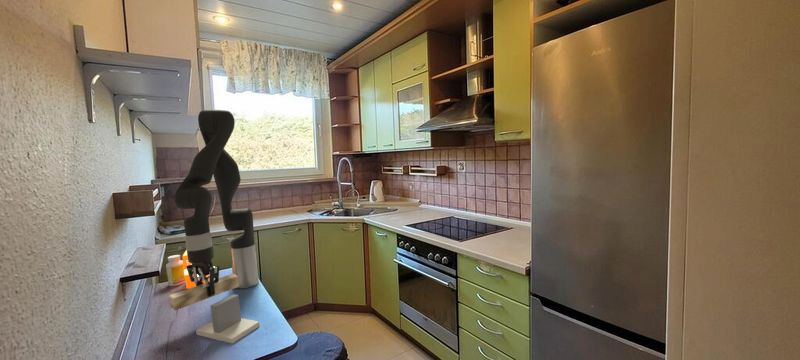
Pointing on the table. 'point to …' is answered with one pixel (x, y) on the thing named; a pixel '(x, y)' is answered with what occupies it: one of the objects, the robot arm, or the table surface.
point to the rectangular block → (202, 292)
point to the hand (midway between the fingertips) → (206, 294)
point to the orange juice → (187, 278)
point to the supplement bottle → (175, 271)
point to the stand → (227, 321)
